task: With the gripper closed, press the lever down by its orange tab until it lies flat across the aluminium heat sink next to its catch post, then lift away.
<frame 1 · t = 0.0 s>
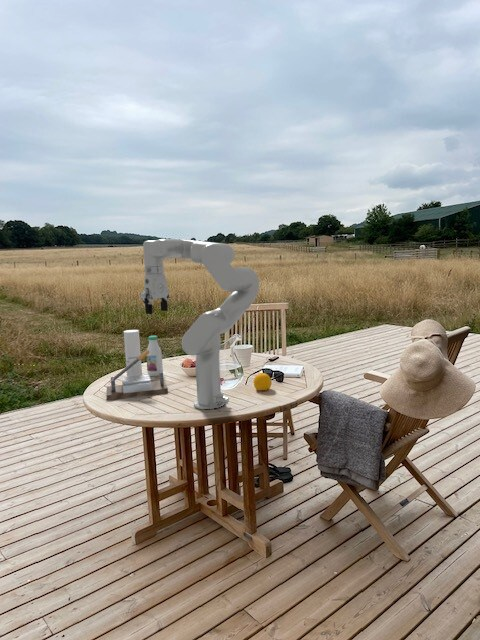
hand: (157, 312, 188), 37 cm above the table, tool pointing down, fingers open, 9 cm apart
mounting board: (137, 391, 203), on the table
lever: (130, 365, 201), point 12 cm above the table, hinge at 35.0°
cylindrical container: (135, 382, 219), on the table
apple: (262, 390, 199), on the table
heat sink: (137, 380, 202), on the mounting board, point 5 cm above the table
milk bottle: (155, 375, 231), on the table
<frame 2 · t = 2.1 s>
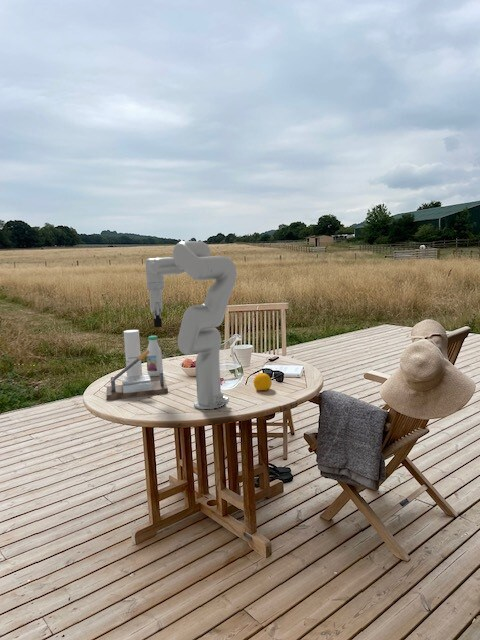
hand: (158, 326, 204), 28 cm above the table, tool pointing down, fingers closed
nothing on the table moved.
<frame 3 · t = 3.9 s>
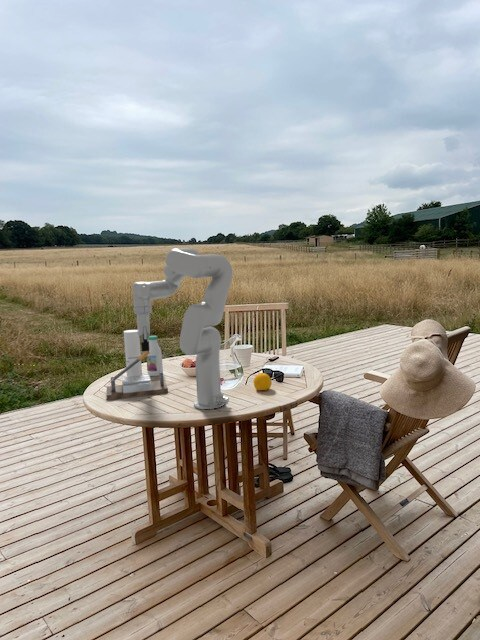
hand: (145, 350, 202), 18 cm above the table, tool pointing down, fingers closed
lever: (130, 365, 201), point 12 cm above the table, hinge at 34.2°, touching gripper
everything else where it was.
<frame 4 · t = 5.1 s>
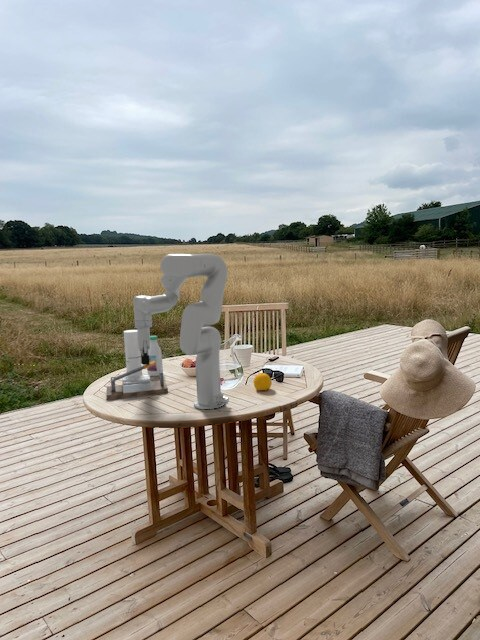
hand: (145, 363, 203), 12 cm above the table, tool pointing down, fingers closed
lever: (133, 371, 201), point 10 cm above the table, hinge at 17.3°, touching gripper
everything else where it was.
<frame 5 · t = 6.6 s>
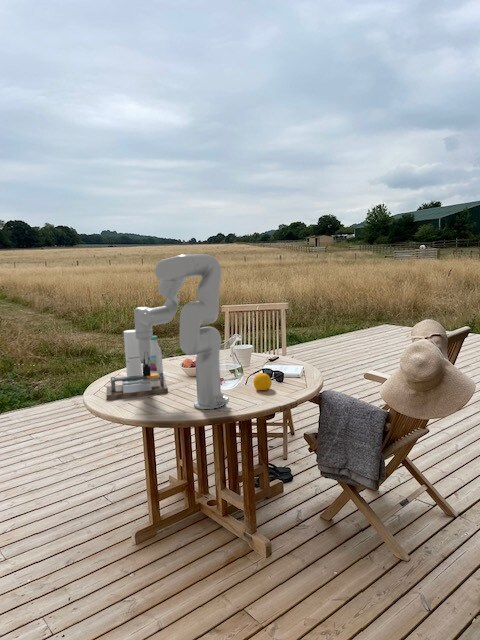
hand: (146, 374, 204), 7 cm above the table, tool pointing down, fingers closed
lever: (135, 377, 202), point 7 cm above the table, hinge at -0.1°, touching gripper
everything else where it was.
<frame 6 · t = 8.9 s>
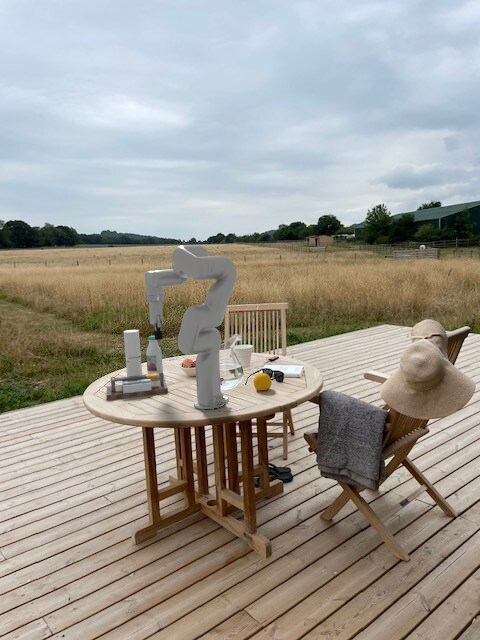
hand: (158, 339, 203), 23 cm above the table, tool pointing down, fingers closed
lever: (135, 377, 202), point 7 cm above the table, hinge at -0.1°
everything else where it was.
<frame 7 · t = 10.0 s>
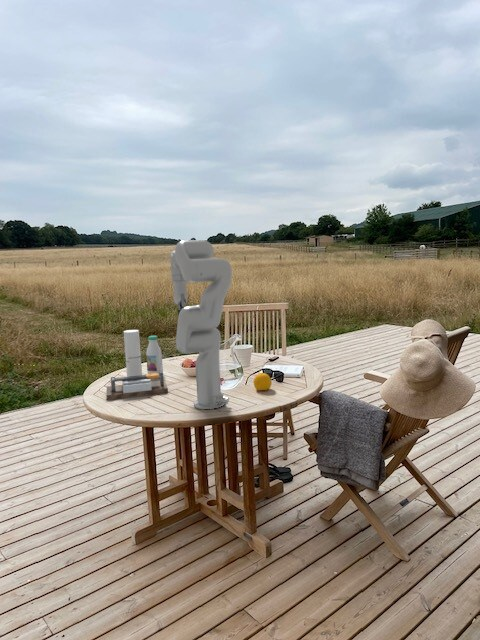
hand: (182, 318, 207), 31 cm above the table, tool pointing down, fingers closed
nothing on the table moved.
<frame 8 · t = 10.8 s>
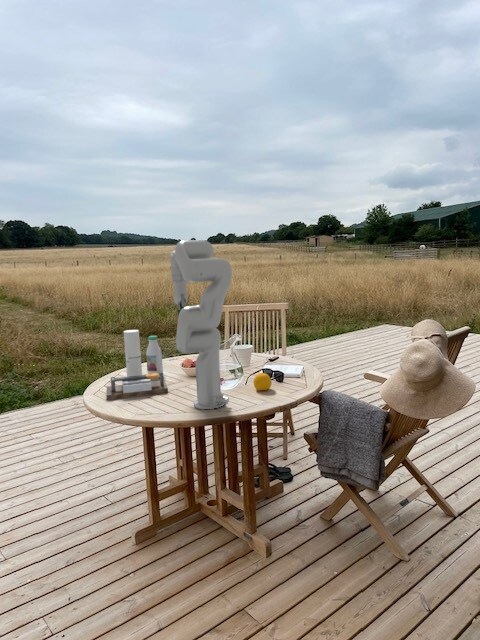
hand: (182, 318, 207), 31 cm above the table, tool pointing down, fingers closed
nothing on the table moved.
at the end: lever at +0° (first picture: +35°); cylindrical container moved 0.2 cm from its start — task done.
